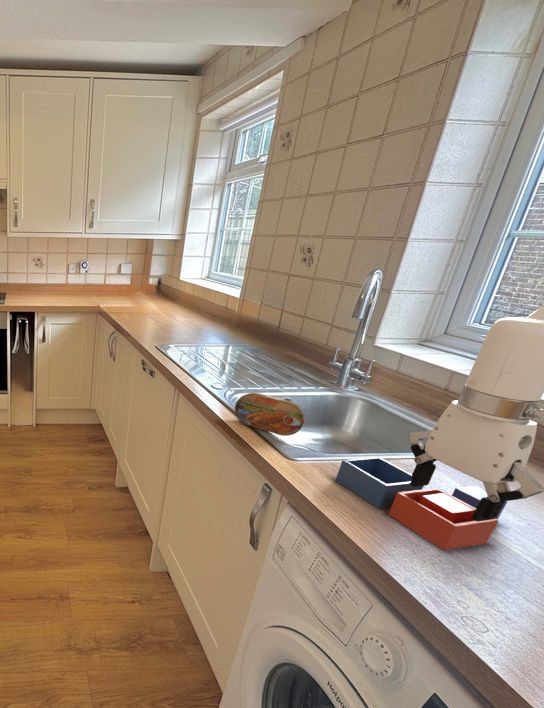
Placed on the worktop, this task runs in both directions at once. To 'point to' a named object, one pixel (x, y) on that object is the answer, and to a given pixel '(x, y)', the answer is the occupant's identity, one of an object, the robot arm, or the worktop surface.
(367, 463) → the blue bin
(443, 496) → the red block
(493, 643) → the worktop surface
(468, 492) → the blue block
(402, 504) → the red bin
